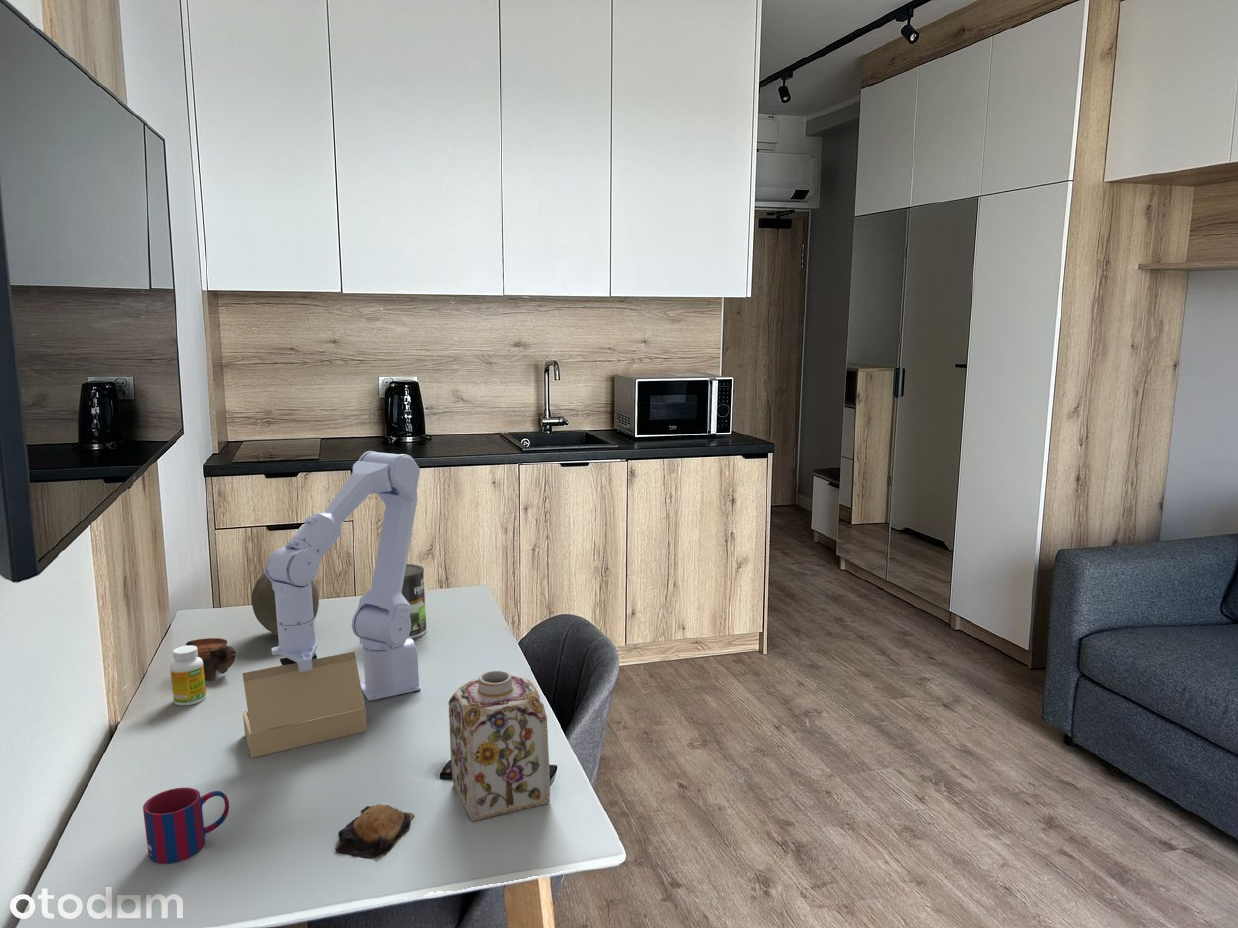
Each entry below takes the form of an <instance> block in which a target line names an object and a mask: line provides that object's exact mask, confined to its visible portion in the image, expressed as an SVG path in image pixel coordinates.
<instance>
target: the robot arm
mask: <svg viewBox="0 0 1238 928" xmlns="http://www.w3.org/2000/svg"><path fill="white" fill-rule="evenodd" d="M420 472H421V469H420V467H419V466H418V464H417V463H416V461H415V459H414V458H413V457H412V455H409V454H405V453H401V454H400V453H399V454H398V453H397V454H396V453H390V452H389V453H387V452H377V451H373V450H368V451H365V452H364V453H362V455H360V457H359V458H358V460H357V461H355V463H354V464H353V465H352V474H351V475H350V476H349V478H348V479H347V481H346V482H345V483H344V485H342V487H341V488H340V490H339V491H338V492H337V494H336V496H335V497H334V498H333V500H332V501H331V502H330V504H328V507H326V509H325V510H324V511H323V512H316V513H313V514H312V515H308V516H307V518H306V519H305V520H304V522H305V523H304V524H303V525H302V526H301V527H300V529H299V530H298V531H297V532H296V533H295V535H293V536H292V538H290V539H289V540H288V541H287V543H286V544H285V545H284V546H283V547H280V548H277V549H276V550H274V551H273V552H272V553H271V554H270V556H269V557H268V558H267V561H266V566H265V567H264V569H263V570H264V573H265V574H266V576H267V577H268V578H269V579H270V580H271V582H272V588H273V590H274V591H275V602H276V615H277V628H278V635H277V637H278V646H276V647H275V646H274V647H272V648H271V654H272V656H279V655H280V656H282V657H283V658H279V662H280V665H281V666H282V665H289V664H295V663H298V669H299V672H303V671H308V670H312V660H313V659H318V656H317V654H316V652H317V648H318V642H317V641H316V627H315V619H314V614H313V600H312V586H311V581H312V580H313V581H314V580H315V579H316V578H317V576H318V573H319V567H320V564H321V563H322V560H323V557H324V556H325V554H326V553H327V552H328V551H329V550H330V548H331V547H332V546H333V545H334V544H335V543H336V541H337V540H338V539H339V538H340V537H341V535H342V528H341V525H342V524H343V522H344V521H345V520H347V519H348V517H349V516H351V514H352V513H353V512H354V511H355V510H356V509H357V508H358V507H360V505H361V504H362V503H363V502H364V501H365V500H366V499H367V498H368V497H370V495H372V494H373V495H375V494H376V495H378V496H379V498H380V499H381V501H382V502H383V503H384V505H385V506H384V507H385V508H384V514H383V519H382V525H381V531H380V536H379V542H378V543H379V544H378V548H377V555H376V559H375V565H374V572H373V578H372V581H371V588H370V590H368V591H367V592H366V593H364V594H363V595H362V596H361V597H360V599H359V603H358V605H357V609H356V611H355V612H354V614H353V617H352V620H351V630H352V632H353V634H354V635H355V636H356V638H359V644H361V645H362V659H363V671H364V672H363V674H364V681H363V682H360V684H361V690H362V693H363V694H364V695H365V697H366V698H367V700H368V701H370V702H371V701H376V700H380V699H386V698H390V697H395V696H398V695H402V694H408V693H411V692H416V691H417V692H418V691H420V690H421V686H420V675H419V660H418V652H417V646H416V644H415V641H414V639H411V638H408V636H409V634H410V631H411V620H410V609H411V606H410V604H409V603H408V602H407V600H406V599H405V598H404V596H403V595H402V587H403V581H404V575H405V569H406V564H408V558H409V550H410V546H411V545H410V544H411V538H412V534H413V533H412V532H413V526H414V522H415V517H416V510H417V505H418V484H419V478H420ZM380 606H381V607H385V608H387V609H384V608H380Z"/></svg>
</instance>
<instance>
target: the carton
mask: <svg viewBox="0 0 1238 928" xmlns="http://www.w3.org/2000/svg"><path fill="white" fill-rule="evenodd" d="M242 718H243V728H244V737H245V740H246V743H247V746H248V750H249V753H250V756H251V759H253V758H257V757H261V756H265V755H270V754H275V753H278V752H282V751H287V750H291V749H295V748H299V747H303V746H309V745H312V744H316V743H320V742H325V741H329V740H334V739H339V738H343V737H347V736H350V735H355V734H358V733H364V732H367V731H368V725H367V709H366V707H365V708H362V709H357V710H353V711H348V712H344V713H339V714H335V715H330V716H326V717H322V718H317V719H313V720H308V721H304V722H299V723H295V724H290V725H286V726H281V727H277V728H272V729H268V730H263V731H259V732H254V733H251V730H250V723H249V716H248V710H247V711H243V712H242Z"/></svg>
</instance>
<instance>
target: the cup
mask: <svg viewBox="0 0 1238 928" xmlns="http://www.w3.org/2000/svg"><path fill="white" fill-rule="evenodd" d="M217 796H218V797H221V798H222V799H223V801H224V809H223V812H222V814H221V816H219V818H218V819H217V820H215V822H213V823H212V824H210V825H208V826H205V824H204V815H203V805H204V804H205V803H206V802H207V801H208V800H209V799H211V798H213V797H217ZM142 806H143V807H142V813H143V820H144V829H145V830H144V831H145V837H146V838H145V839H146V844H147V845H146V846H147V854H148V858H149V860H151V862H154V863H156V864H163V865H164V864H165V865H166V864H173V863H178V862H182V861H184V860H187V859H189V858H191V857H193V856H194V855H196V854H198V853H199V852H200V851H201V850H202V849H203V848H204V847H205V844H206V835H207V834H209V833H211V832H212V831H214V830H216V829H217V828H218V827H220V826H221V825H222V824H223V823H224V822H225V820H226V819H227V817H228V815H229V811H230V803H229V798H228V796H227V795H226V794H225V793H224V792H223V791H221V790H214V791H211V792H208V793H206V794H204V795H202V796H201V793H200V791H199V790H197V789H195V788H192V787H176V788H171V789H167V790H164V791H161V792H159V793H157V794H155V795H153V796H151V797H150V798H148V799H147V800H146V802H144V804H143V805H142Z"/></svg>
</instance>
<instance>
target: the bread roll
mask: <svg viewBox="0 0 1238 928" xmlns="http://www.w3.org/2000/svg"><path fill="white" fill-rule="evenodd" d="M414 818H415V814H414V813H413V812H406V811H402V810H401V809H400V810H399V808H396V807H392V806H391V805H387V804H386V805H385V804H374V805H371V806H368V805H367V806H365V807H364V808H363V809H361V810H360V815H359V816H357V817H355V818H354V819H353V820H351V821H350V822H348V823H347V824H346V826H345V827H344V828H341V829H340V830H339V831H338V833H337V835H338V838H339V841H338V843H337V844H336V846H335V848H334V851H333V853H334V854H339V855H346V856H352V857H358V858H362V859H374V858H379V857H382V856H385V855H387V854H388V853H389V852H390V851H392V849H393V848H394V847H395V845H396V844H397V843H398V842H399V840H400V839H401V838H402V837H403V835H404V834H406V833H407V832H408V829H410V827H411V822H412V821H413V819H414Z"/></svg>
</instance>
